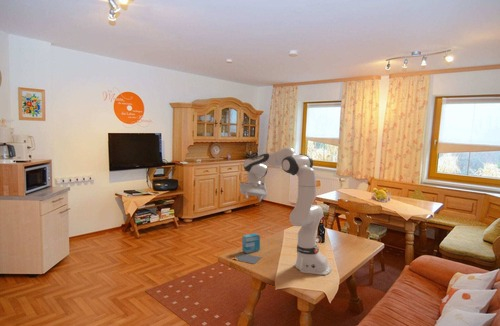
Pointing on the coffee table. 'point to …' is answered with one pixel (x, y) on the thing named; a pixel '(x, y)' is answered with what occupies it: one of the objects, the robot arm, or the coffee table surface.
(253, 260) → the mat
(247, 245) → the data package
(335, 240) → the coffee table surface
